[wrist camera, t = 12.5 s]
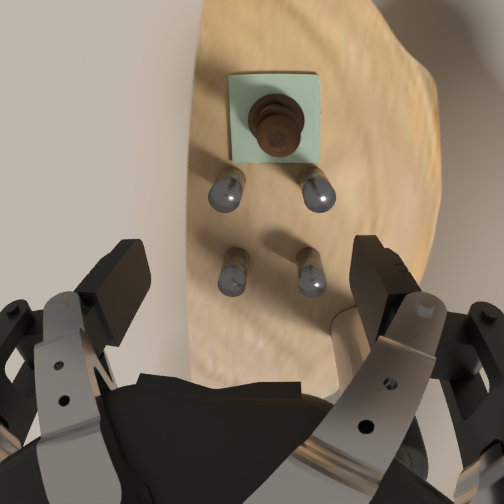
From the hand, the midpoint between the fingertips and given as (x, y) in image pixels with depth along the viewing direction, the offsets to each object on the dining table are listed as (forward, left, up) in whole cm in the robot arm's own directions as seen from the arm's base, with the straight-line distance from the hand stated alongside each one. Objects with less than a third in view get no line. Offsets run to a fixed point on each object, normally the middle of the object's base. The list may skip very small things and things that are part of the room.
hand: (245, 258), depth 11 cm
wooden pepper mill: (-1, -3, -28) cm, 28 cm away
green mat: (-1, -3, -29) cm, 29 cm away
